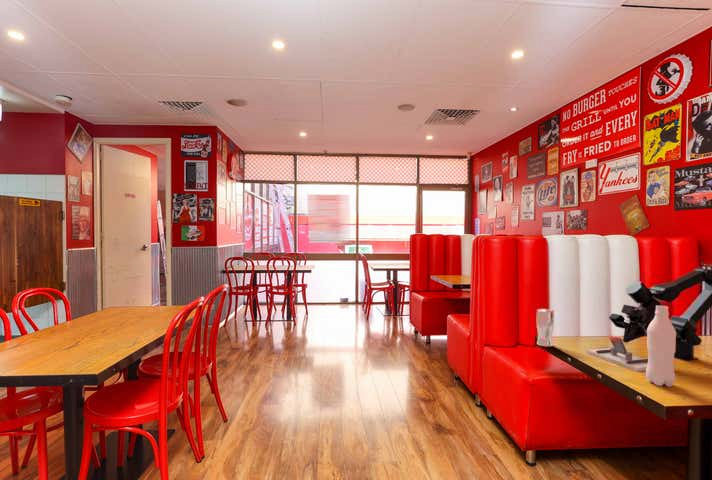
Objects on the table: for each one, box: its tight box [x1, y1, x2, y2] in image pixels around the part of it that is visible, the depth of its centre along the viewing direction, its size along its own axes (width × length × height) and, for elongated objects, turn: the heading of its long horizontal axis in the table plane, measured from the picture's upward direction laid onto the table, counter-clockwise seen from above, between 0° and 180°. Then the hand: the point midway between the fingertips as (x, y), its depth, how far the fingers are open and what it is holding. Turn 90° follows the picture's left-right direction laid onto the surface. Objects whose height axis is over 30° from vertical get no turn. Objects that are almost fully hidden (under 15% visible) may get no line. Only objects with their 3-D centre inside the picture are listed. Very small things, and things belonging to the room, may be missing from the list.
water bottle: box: [645, 305, 676, 388], centre depth 115 cm, size 7×7×25 cm
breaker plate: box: [586, 347, 648, 372], centre depth 137 cm, size 12×20×4 cm, turn 15°
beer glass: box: [535, 308, 555, 348], centre depth 155 cm, size 7×7×15 cm
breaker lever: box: [608, 335, 628, 355], centre depth 136 cm, size 2×4×7 cm, turn 15°
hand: (624, 341), depth 137 cm, fingers closed
